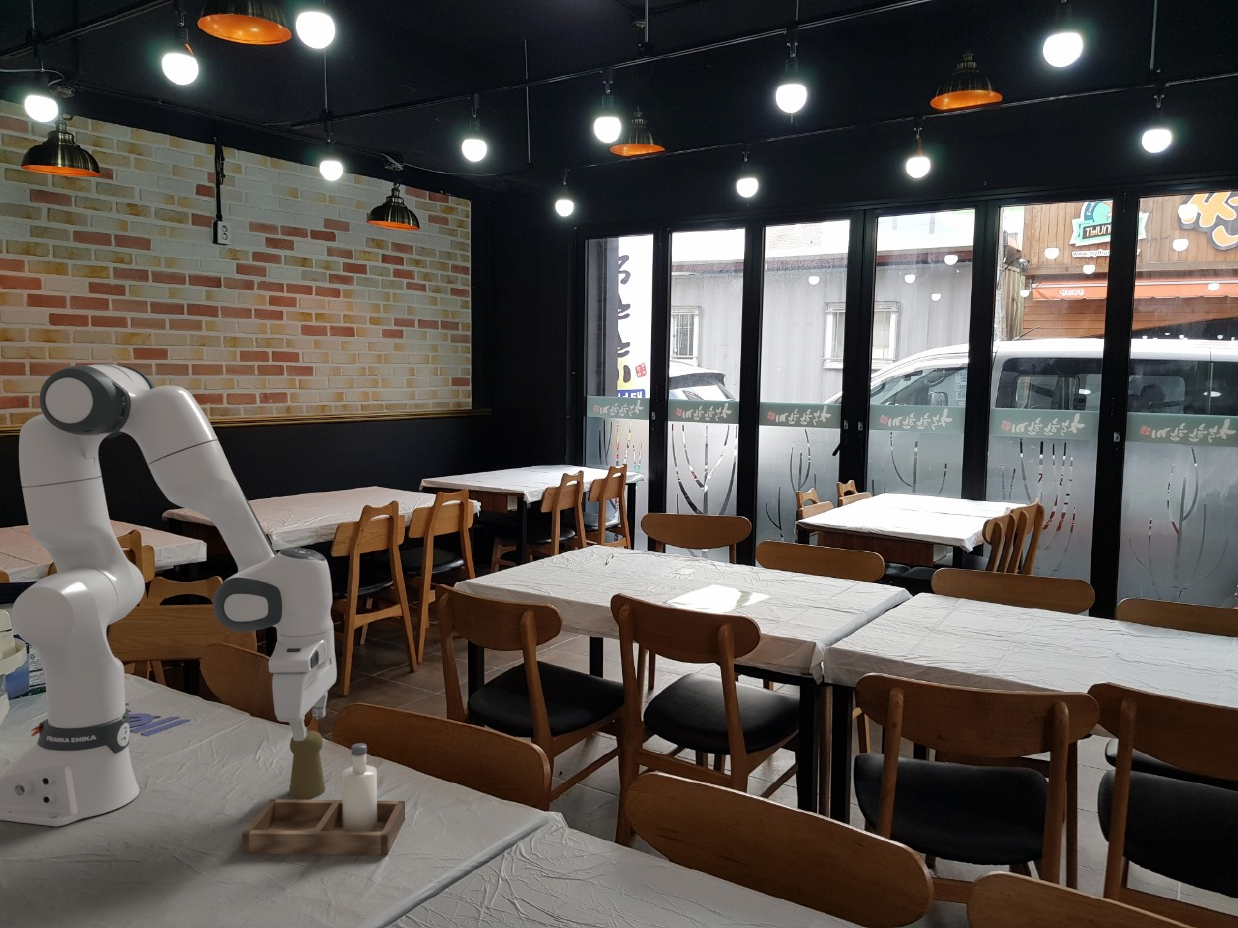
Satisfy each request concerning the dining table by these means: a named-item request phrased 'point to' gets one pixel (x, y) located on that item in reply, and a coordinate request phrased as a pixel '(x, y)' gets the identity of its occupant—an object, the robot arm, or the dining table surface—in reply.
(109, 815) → the dining table surface
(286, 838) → the condiment caddy
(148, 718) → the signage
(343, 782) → the cruet bottle
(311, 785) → the olive green pepper mill
